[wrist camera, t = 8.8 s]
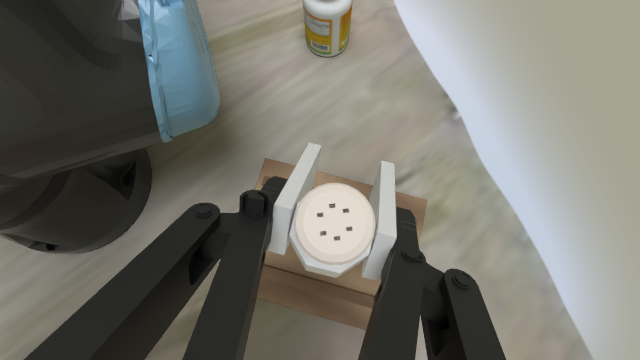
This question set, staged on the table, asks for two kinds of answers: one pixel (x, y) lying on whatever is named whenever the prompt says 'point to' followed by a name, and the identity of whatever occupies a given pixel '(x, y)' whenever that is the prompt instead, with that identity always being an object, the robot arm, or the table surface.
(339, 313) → the rack
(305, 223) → the pepper shaker
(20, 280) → the table surface
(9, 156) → the robot arm
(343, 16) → the supplement bottle
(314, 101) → the table surface
